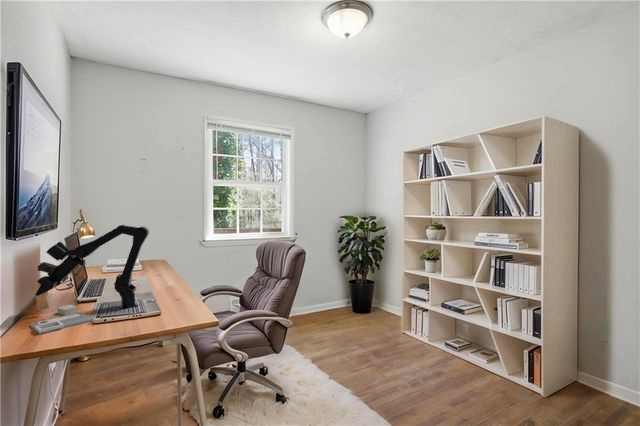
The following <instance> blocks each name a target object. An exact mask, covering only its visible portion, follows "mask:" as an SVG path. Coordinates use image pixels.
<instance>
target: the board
mask: <svg viewBox="0 0 640 426" xmlns="http://www.w3.org/2000/svg"><path fill="white" fill-rule="evenodd" d="M92 320H93V321H94V318H92V317H91V316H89V315H88V314H86V313H84V312H82V311H81V312H77V313H73V314H69V315H63V316H62V315H61V316H59V317H53V318H51V319H50V318H49V319H45V320H40V321H36V322H31V323H30V327H31V328H32V329H33V330H34V331H35V332H36V333H37V334H38V335H41V334H46V333H51V332H54V331H57V330H58V331H59V330H61V329H66V328H69V327H74V326H78V325H82V324H86V323H90V322H93V321H92Z"/></svg>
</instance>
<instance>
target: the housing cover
mask: <svg viewBox="0 0 640 426" xmlns="http://www.w3.org/2000/svg"><path fill="white" fill-rule="evenodd" d="M76 313H79V309H78V306H76V305H72V304H68V305H67V304H66V305H63V306H59V307H57V314H60V315H61V316H62V315H63V316H67V315H71V314H76Z"/></svg>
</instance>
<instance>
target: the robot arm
mask: <svg viewBox="0 0 640 426" xmlns="http://www.w3.org/2000/svg"><path fill="white" fill-rule="evenodd" d="M149 234H150V231H149V228H147V227H146V226H139V227H137V226H130V225H125V224H121V225H118V226H117V227H115V228H114V229H112V230H110V231H108V232H107V233H105V234H103V235H101V236H99V237H98V238H96V239H94V240H91V241H90V242H86V243H84V244H80V245H79V246H76V247H75V248H74V247H73V248H69V247H68V246H66V245H65V244H64V243H63V242H62V241H58V242H57V243H56V244H54V245H52V246H51V247H49V249H47V251H46V254H48V255H49V256H50V257H51V258H53V259H54V260H56V261H62V262H61V263H60V264H58V265H55V264H52V263H50V262H45V261H43V262H40V263H39V265H37V269H36V271H38V272H43V273H47V274H46V276H45V275H44V276H42V277H39V278H38V279H39V280H38V279H37V280H38V281H37V282H38V283H40V284H41V286H40V288H39V289H38V291H37V292H36V291H35V293H34V294H35V296H38V295H41V294H43V293H45V292H47V291H48V292H49V291H51V290H53V289H55V288H56V287H58V286H61V284H62V283H65V282H66V281H67V280H68V279H69V275H71V274H72V273H73V271H74V270H75V269H76V268H78V266H79V265H80V266H82V267H84V266H86V259H84V258H87V257H88V256H91V255H92V254H94V252H96V251H97V250H98V249H99V248H101V247H102V246H103V245H105V244H108V242H111V241H113V240H115V238H117V237H119V236H120V235H127V236H132V244H131V248H130V251H129V252H128V253H129V254H128V256H127V259H126V262H125V264H124V265H125V266H124V267H123V270H122V273H120V274H118V275H117V276H116V278H115V282H114V283H113V286H114V290H115V291H116V292H117V293H118V295H119V296H120V300H121V301H120V302H121V304H120V305H118V308H120V309H123V310H128V309H130V308H135V307H138V306H139V304H137V303H136V295H135V294H136V293H135V291H136V289H137V287H136V286H135V285H134V284H132V278H133V271H134V269H135V265H136V262H137V260H138V257H139V254H140V251H141V249H142V246H143V244H144V243H145V241H146V239H147V238H148V236H149Z"/></svg>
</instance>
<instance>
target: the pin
mask: <svg viewBox="0 0 640 426" xmlns="http://www.w3.org/2000/svg"><path fill="white" fill-rule="evenodd" d="M39 279H40V278H38V279H35V293H36V292H37V291H38V289H39V288H40V286H41V284H40V283H38V282H37V281H38V280H39ZM35 296H36V295H35ZM35 299H36V310H38V311H40V310H41V311H43V310H47V309H49V291H47V292H45V293H43V294H41V295H38V296H36V298H35Z"/></svg>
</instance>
